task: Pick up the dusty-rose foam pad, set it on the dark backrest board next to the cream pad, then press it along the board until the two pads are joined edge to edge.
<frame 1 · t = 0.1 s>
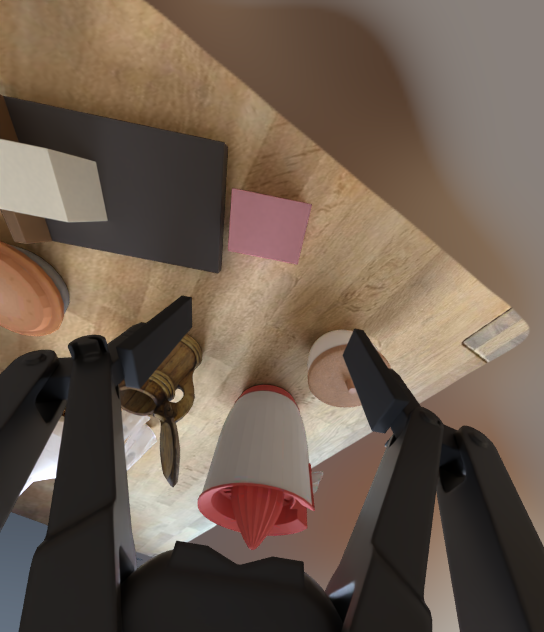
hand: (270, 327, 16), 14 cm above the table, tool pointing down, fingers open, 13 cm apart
rose pad: (270, 226, 25), on the table
pie: (34, 282, 31), on the table
trinket box: (335, 345, 33), on the table
wooden mug: (190, 354, 36), on the table
citrus juicer: (271, 402, 41), on the table
cream pad: (68, 186, 23), point 1 cm above the table, touching backrest board
shaker set: (146, 417, 46), on the table
backrest board: (130, 197, 24), on the table
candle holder: (67, 428, 51), on the table
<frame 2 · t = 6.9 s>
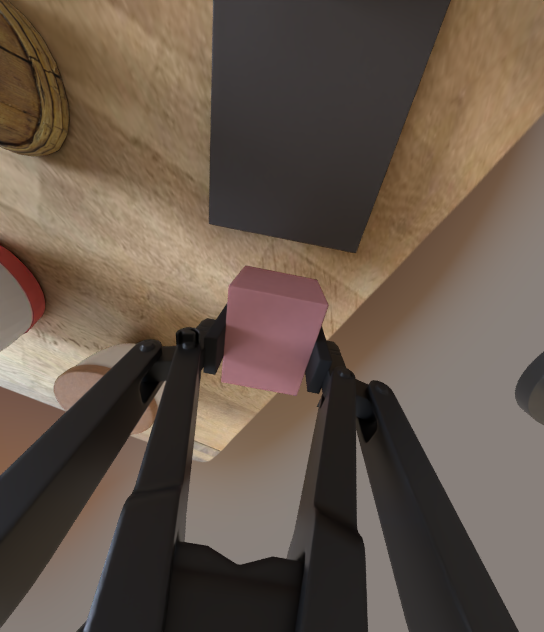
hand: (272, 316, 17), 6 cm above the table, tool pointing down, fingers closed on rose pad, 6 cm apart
rose pad: (272, 315, 18), point 5 cm above the table, touching gripper
trinket box: (148, 359, 28), on the table
wooden mug: (16, 118, 16), on the table
citrus juicer: (3, 286, 24), on the table
backrest board: (318, 57, 14), on the table
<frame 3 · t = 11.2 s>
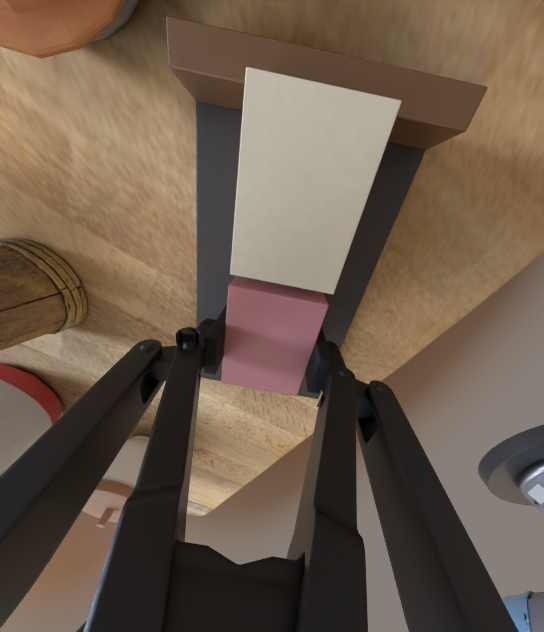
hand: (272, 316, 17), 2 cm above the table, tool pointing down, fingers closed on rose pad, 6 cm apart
rose pad: (272, 315, 18), point 2 cm above the table, touching backrest board, gripper
trinket box: (148, 445, 33), on the table
wooden mug: (46, 302, 21), on the table
citrus juicer: (27, 394, 28), on the table
cream pad: (295, 207, 14), point 1 cm above the table, touching backrest board
backrest board: (278, 284, 18), on the table
when the fingers open (2 cm above the table, at t = 11.4 s): rose pad stays where it is, resting on backrest board.
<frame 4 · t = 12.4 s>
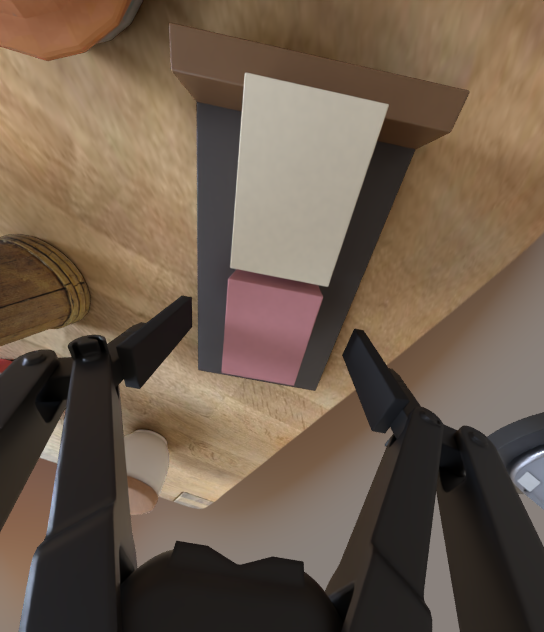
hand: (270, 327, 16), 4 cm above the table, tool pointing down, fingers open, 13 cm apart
rose pad: (270, 309, 18), point 1 cm above the table, touching backrest board
trinket box: (150, 438, 33), on the table
wooden mug: (49, 298, 21), on the table
cream pad: (292, 204, 14), point 1 cm above the table, touching backrest board
backrest board: (276, 279, 18), on the table
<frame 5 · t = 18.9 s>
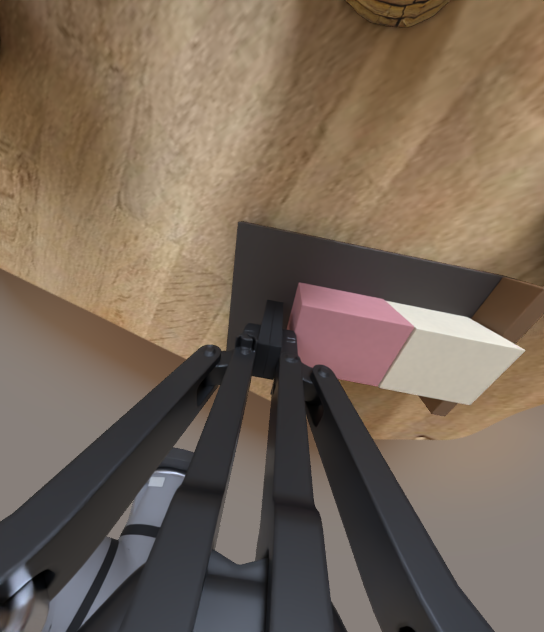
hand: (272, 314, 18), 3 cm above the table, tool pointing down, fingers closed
rose pad: (330, 318, 19), point 2 cm above the table, touching backrest board, gripper
cream pad: (410, 335, 19), point 1 cm above the table, touching backrest board
backrest board: (345, 316, 21), on the table
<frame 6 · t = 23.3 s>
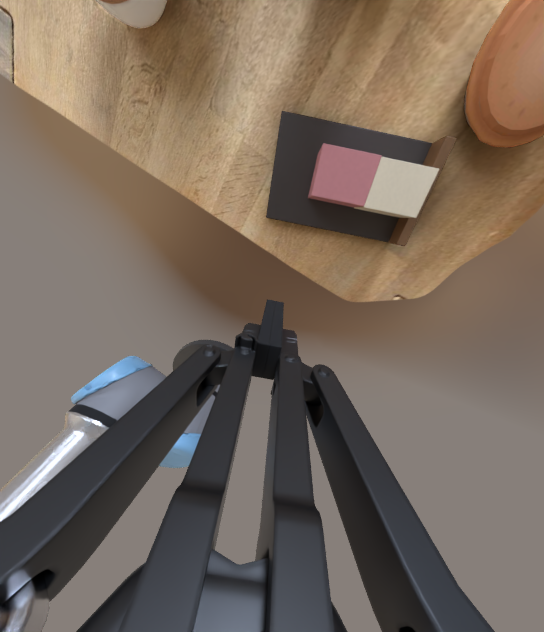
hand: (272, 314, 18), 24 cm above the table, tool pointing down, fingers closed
rose pad: (336, 181, 31), point 1 cm above the table, touching backrest board
pie: (509, 82, 26), on the table
cream pad: (384, 192, 32), point 1 cm above the table, touching backrest board
backrest board: (343, 185, 33), on the table
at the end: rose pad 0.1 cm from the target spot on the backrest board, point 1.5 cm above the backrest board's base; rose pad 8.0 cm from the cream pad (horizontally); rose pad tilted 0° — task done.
